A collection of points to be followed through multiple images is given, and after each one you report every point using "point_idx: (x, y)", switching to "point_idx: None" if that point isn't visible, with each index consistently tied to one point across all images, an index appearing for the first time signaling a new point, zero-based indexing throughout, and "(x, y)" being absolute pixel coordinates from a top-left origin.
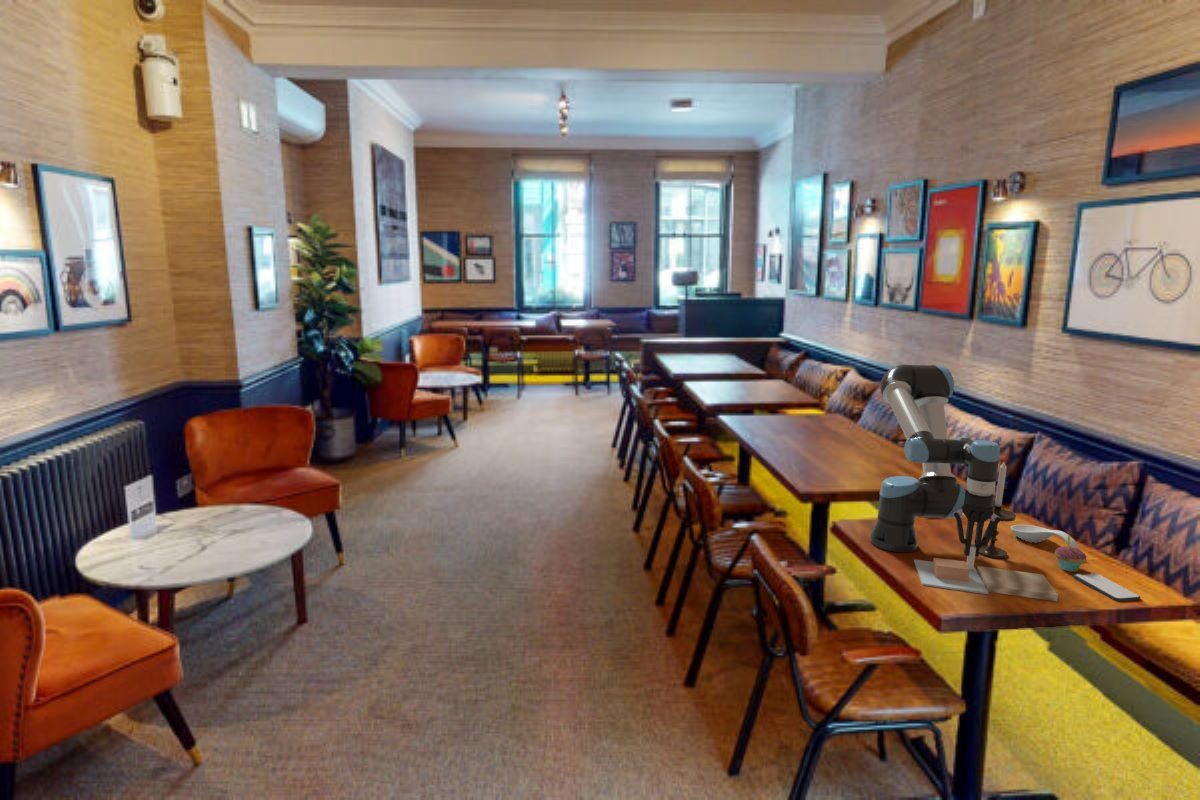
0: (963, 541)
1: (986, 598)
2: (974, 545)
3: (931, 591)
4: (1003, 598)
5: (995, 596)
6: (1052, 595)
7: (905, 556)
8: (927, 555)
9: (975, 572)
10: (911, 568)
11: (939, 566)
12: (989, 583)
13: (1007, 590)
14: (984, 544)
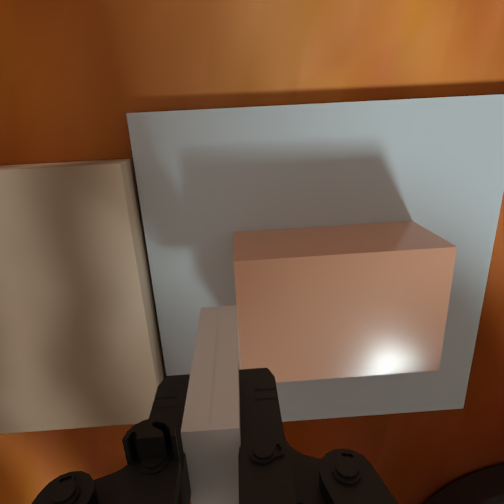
0: (339, 476)
1: (143, 41)
2: (192, 483)
3: (480, 10)
4: (40, 89)
5: (87, 101)
6: None
7: (482, 436)
8: None
9: (177, 372)
10: (498, 312)
11: (435, 245)
12: (110, 198)
13: (6, 167)
14: (74, 489)
